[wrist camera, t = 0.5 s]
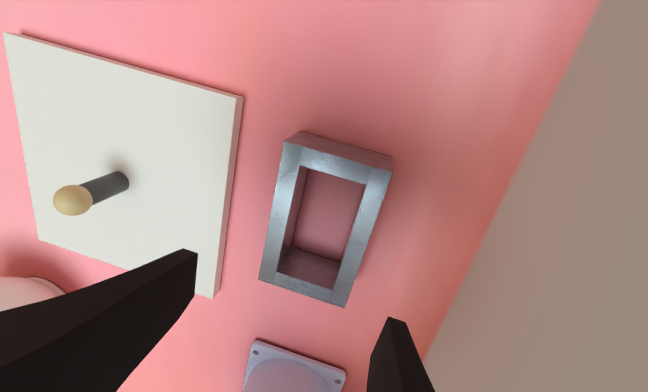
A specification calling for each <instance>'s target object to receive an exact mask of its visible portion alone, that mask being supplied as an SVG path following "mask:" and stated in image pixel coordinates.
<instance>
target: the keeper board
mask: <svg viewBox="0 0 648 392" xmlns="http://www.w3.org/2000/svg"><path fill="white" fill-rule="evenodd" d="M3 36H4V41H5V47H6V53H7V59H8V65H9V71H10V77H11V82H12V88H13V94H14V100H15V106H16V112H17V117H18V123H19V129H20V135H21V141H22V147H23V152H24V158H25V164H26V170H27V176H28V182H29V187H30V193H31V199H32V205H33V211H34V217H35V222H36V228H37V234H38V239H39V240H42V241H45V242H48V243H50V244H53V245H56V246H59V247H62V248H65V249H68V250H71V251H74V252H77V253H80V254H82V255H85V256H88V257H91V258H94V259H97V260H100V261H103V262H106V263H109V264H112V265H115V266H117V267H120V268H123V269H126V270H129V271H130V270H132V269H135V268H137V267H140V266H142V265H144V264H147V263H149V262H151V261H154V260H156V259H158V258H161V257H163V256H165V255H168V254H170V253H172V252H175V251H177V250H180V249H182V248H184V249H187V250H190V251H193V252H196V253H198V261H197V272H196V283H195V293H196V294H199V295H202V296H205V297H208V298H211V299H213V298H214V297H215V296H216V294H217V293H218V292H219V289H220V281H221V273H222V265H223V257H224V250H225V242H226V234H227V226H228V218H229V210H230V202H231V194H232V186H233V178H234V171H235V163H236V155H237V147H238V139H239V131H240V123H241V115H242V107H243V99H244V97H242V96H239V95H235V94H232V93H228V92H224V91H221V90H217V89H214V88H210V87H207V86H203V85H200V84H196V83H193V82H189V81H186V80H182V79H178V78H175V77H171V76H168V75H164V74H161V73H157V72H154V71H150V70H147V69H143V68H140V67H136V66H133V65H129V64H125V63H122V62H118V61H115V60H111V59H108V58H104V57H101V56H97V55H94V54H90V53H87V52H83V51H79V50H76V49H72V48H69V47H65V46H62V45H58V44H55V43H51V42H48V41H44V40H41V39H37V38H34V37H30V36H26V35H23V34H16V33H6V32H3Z"/></svg>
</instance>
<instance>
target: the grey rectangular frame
mask: <svg viewBox="0 0 648 392" xmlns="http://www.w3.org/2000/svg"><path fill="white" fill-rule="evenodd" d="M308 168H311V169H314V170H318V171H321V172H324V173H328V174H331V175H334V176H338V177H341V178H345V179H348V180H351V181H355V182H358V183H361V184H365V186H364V189H363V192H362V195H361V198H360V201H359V205H358V208H357V211H356V214H355V217H354V220H353V223H352V226H351V230H350V233H349V236H348V239H347V242H346V245H345V248H344V251H343V255H342V258H341V261H340V262H338V261H335V260H332V259H328V258H325V257H322V256H319V255H316V254H313V253H310V252H307V251H303V250H300V249H297V248H294V247H291V241H292V237H293V233H294V228H295V224H296V220H297V215H298V211H299V207H300V203H301V198H302V194H303V190H304V185H305V181H306V177H307V172H308ZM392 173H393V169H392V157H390V156H387V155H383V154H380V153H376V152H373V151H369V150H366V149H362V148H359V147H355V146H352V145H348V144H345V143H341V142H338V141H334V140H331V139H327V138H324V137H321V136H317V135H314V134H310V133H307V132H303V131H299V132H297V133H296V134H294V135H293V136H291V137H290V138H288V139H287V140H285V141H284V146H283V151H282V157H281V162H280V167H279V172H278V178H277V183H276V188H275V193H274V199H273V204H272V209H271V215H270V220H269V225H268V230H267V236H266V241H265V246H264V251H263V257H262V262H261V267H260V272H259V278H258V280H261V281H264V282H267V283H270V284H273V285H276V286H279V287H282V288H285V289H288V290H291V291H294V292H297V293H300V294H303V295H306V296H309V297H312V298H315V299H318V300H321V301H324V302H327V303H330V304H333V305H336V306H339V307H342V308H345V306H346V303H347V300H348V297H349V294H350V292H351V289H352V286H353V283H354V280H355V277H356V275H357V272H358V269H359V266H360V263H361V261H362V258H363V255H364V252H365V249H366V246H367V244H368V241H369V238H370V235H371V232H372V229H373V227H374V224H375V221H376V218H377V215H378V213H379V210H380V207H381V204H382V201H383V198H384V196H385V193H386V190H387V187H388V184H389V181H390V179H391V176H392Z"/></svg>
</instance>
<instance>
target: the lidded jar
mask: <svg viewBox="0 0 648 392" xmlns="http://www.w3.org/2000/svg"><path fill="white" fill-rule="evenodd" d="M63 294H66V293H65V292H64V291H63V290H62V289H60V288H59V287H58V286H57V285H55V284H54V283H52V282H50V281H48V280H46V279H43V278H39V277H28V278H23V277H8V276H5V277H0V311H4V310H8V309H12V308H16V307H20V306H24V305H28V304H32V303H36V302H40V301H43V300H47V299H50V298H54V297H57V296H60V295H63Z"/></svg>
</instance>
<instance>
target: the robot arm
mask: <svg viewBox="0 0 648 392" xmlns="http://www.w3.org/2000/svg"><path fill="white" fill-rule="evenodd" d="M197 261H198V253H196V252H193V251H190V250H187V249H184V248H182V249H180V250H177V251H175V252H172V253H170V254H168V255H165V256H163V257H161V258H158V259H156V260H154V261H151V262H149V263H147V264H144V265H142V266H140V267H137V268H135V269H132V270H130V271H128V272H125V273H123V274H120V275H117V276H115V277H112V278H109V279H107V280H104V281H101V282H99V283H96V284H93V285H91V286H88V287H85V288H82V289H79V290H76V291H73V292H70V293H67V294H63V295H60V296H57V297H54V298H50V299H47V300H43V301H40V302H36V303H32V304H28V305H24V306H20V307H16V308H12V309H8V310H4V311H0V392H116V391H117V390H118V388H119V387H120V386H121V385H122V384H123V382H124V381H125V380H126V379H127V377H128V376H129V375H130V374H131V373H132V372H133V370H134V369H135V368H136V367H137V366H138V365H139V364H140V362H141V361H142V360H143V359H144V358H145V357H146V356H147V355H148V353H149V352H150V351H151V350H152V349H153V348H154V347H155V345H156V344H157V343H158V342H159V341H160V340H161V339H162V337H163V336H164V335H165V334H166V333H167V332H168V331H169V329H170V328H171V327H172V326H173V325H174V324H175V322H176V321H177V320H178V319H179V317H180V316H181V315H182V313H183V312H184V310H185V309H186V307H187V306H188V304H189V303H190V301H191V300H192V298H193V297H194V294H195V283H196V272H197ZM345 380H346V373H345V371H343V370H341V369H339V368H336V367H333V366H330V365H327V364H324V363H321V362H319V361H316V360H313V359H310V358H307V357H304V356H301V355H299V354H296V353H293V352H290V351H287V350H284V349H281V348H279V347H276V346H273V345H270V344H267V343H264V342H262V341H258V340H256V341H253V343H252V345H251V349H250V354H249V359H248V364H247V369H246V374H245V379H244V384H243V389H242V392H341V389H342V387H343V384H344V382H345ZM367 392H435V390H434V388H433V386H432V384H431V382H430V379H429V377H428V375H427V373H426V371H425V369H424V366H423V364H422V362H421V359H420V357H419V354H418V352H417V350H416V347H415V345H414V342H413V340H412V337H411V335H410V332H409V329H408V327H407V325H406V323H405V322H403V321H400V320H397V319H394V318H391V317H388V318H387V320H386V323H385V325H384V327H383V329H382V332H381V334H380V336H379V338H378V341H377V343H376V345H375V348H374V350H373V352H372V354H371V357H370V365H369V372H368V380H367Z"/></svg>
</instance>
